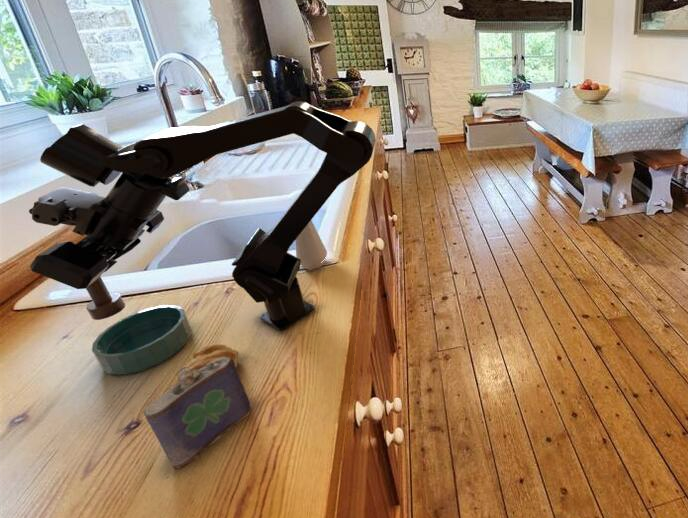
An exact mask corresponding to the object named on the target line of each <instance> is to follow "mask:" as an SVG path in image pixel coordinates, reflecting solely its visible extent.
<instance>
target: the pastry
mask: <svg viewBox="0 0 688 518" xmlns="http://www.w3.org/2000/svg"><path fill="white" fill-rule="evenodd" d="M220 357H229V358H231V359H233V360H234V363H235V366H236V368H237V366H238V359H239V351H237V350H236V349H234V348H232V347H230V346H227V345H225V344H223V343H217V344H215V343H214V344H211V345H207V346H204V347H202V348H201V349H200V350H198V351H195V352H194V353H193V354H192V356H191V357H190V358H188V363H187V364H186V366H187V368H189V369H188V370H189V371H191V370H199V369H200V368H202V367H204V366H206V365H207V364H209V363H210V362H212V361H215V360H217V359H219V358H220ZM187 368H184V369H183V371H184V370H185V369H187Z"/></svg>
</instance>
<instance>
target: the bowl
mask: <svg viewBox="0 0 688 518" xmlns="http://www.w3.org/2000/svg"><path fill="white" fill-rule="evenodd" d="M192 332H193V329H192V324H191V322H190V319H189V318H188V315H187V313H186V310H185V309H183V308H182V307H181V306H179V305H173V304H166V305H165V304H163V305H158V306H154V307H149V308H145V309H143V310H140V311H137V312H134V313H131V314H129V315H127V316H125V317H124V318H121V319H119V320H118V321H117V322H115V323H113V324H112V325H110V326H109V327H107V328H106V329H105V330H104V331H102V332H101V333H100V334H98V336H96V339H95V340H94V341H93V343H92V345H91V352H92V354H93V356H94V357H95V359H96V361H97V362H98V364H99V366H100V368H101V369H102V370H103V371H104V373H107V374H112V375H129V374H134V373H138V372H142V371H145V370H148V369H150V368H154V367H155V366H157V365H159V364H161V363H163V362H165V361H167V360H168V359H169V358H171V357H172V356H174V355H176V353H178V352H179V351H180V350H181V349H182V348H183V347H184V346H185V344H187V341H189V339H190V338H191V335H192Z"/></svg>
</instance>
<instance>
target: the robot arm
mask: <svg viewBox="0 0 688 518" xmlns="http://www.w3.org/2000/svg"><path fill="white" fill-rule="evenodd" d="M289 135H296V136H298V137H300V138H302V139H303V140H305V141H306V142H307V143H309V144H310V145H312V146H313V147H315V148H316V149H318V150H319V151H321V152H323V153H326V154H325V157H324V159H323V161H322V162H321V165H320V167H319V168H318V169H317V171H316V172H315V174H314V175H313V176H312V177H311V179H310V180H309V181H308V183H307V184H306V185H305V186H304V188H303V189H302V191H301V192H300V193H299V194H298V196H297V197H296V198H295V199H294V200H293V202H292V203H291V205H290V206H289V207H288V208H287V210H286V211H285V213H283V215H282V216H281V217H280V218H279V219H278V221H277V222H276V224H275V225H274V226H273V227H272V228H271V229H269V230H268V231H265V230H263V229H262V228H260V227H258V228H257V229H256V231H255V232H254V234H253V235H252V237H251V238H250V239H249V241H248V242H246V243H245V244H244V246H243V247H242V249H241V251H239V253H238V254H237V256H236V257H235V258H234V260H233V262H232V263H231V266H233V267H234V268H233V269H232V273H231V277H232V278H233V280H234V282H235V283H236V284H237V286H239V287H241V288H242V289H243V290H244V291H245V292H246V293H247V294H248V295H249V296H250V298H252V299H253V301H254V302H255V303H257V304H258V303H263V304H264V307H265V312H263V313H262V314H260V316H259V317H260V320H262V321H263V322H265V323H267V324H269V325H270V326H271V327H273V328H274V329H276V330H278V331H280V332H281V331H284V330H286V329H287V328H289V327H291V326H292V325H293V324H295V323H296V322H298V321H299V320H302V318H304V317H306V316H307V315H309V314H310V313H312V312H314V311H315V309H316V307H315V306H314V305H313V304H311V303H309V302H307V301H306V300H305V299H304V297H303V293H302V290H301V285H300V282H299V279H298V277H297V274H298V272H299V271H300V268H301V265H300V263H301V260H300V259H299V258H297V257H296V255H293V254H291V253H290V252H289V249H290V247H291V246H292V245H293V243H295V242H296V238H297V237H298V236H299V235H300V233H301V232H302V231H303V230H304V228H305V227H306V226H307V225H308V223H309V222H310V221H311V220H313V218H314V217H315V216H316V215H317V214H318V212H319V211H320V210H321V208H322V207H323V206H324V204H326V202H327V201H328V199H329V198H331V196H332V195H333V194H334V192H335V191H336V189H337V188H338V187H339V186H340V185H341V184H343V183H344V182H345V181H347V180H348V179H350V178H351V177H353V176H354V175H356V173H358V172H359V171H360V170H361V169H363V167H364V166H366V165H367V164H368V163H369V162H370V160H371V158H372V157H373V153H374V149H375V146H376V133H375V132H374V130H373V128H372V127H371V126H370V125H369V124H366V123H365V122H363V121H358V120H354V121H353V120H352V121H350V120H348V119H347V118H345V117H343V116H341V115H338V114H336V113H332V112H328V111H326V110H323V109H320V108H317V107H315V106H314V105H312V104H309V103H308V102H306V101H301V100H300V101H299V100H298V101H293V102H291V103H290V104H288V105H285V106H282V107H278V108H274V109H269V110H267V111H263V112H258V113H255V114H251V115H248V116H244V117H241V118H240V117H239V118H236V119H232V120H229V121H225V122H222V123H218V124H213V125H203V126H202V125H201V126H200V125H188V126H178V127H169V128H165V129H163V130H160V131H158V132H156V133H154V134H152V135H150V136H148V137H145V138H143V139H140V140H139V141H135V142H133V143H131V144H128V145H126V146H124V147H123V146H122V145H119V144H118V143H116V142H115V141H113V140H110V139H108V138H107V137H105V136H103V135H102V134H99V133H98V132H96V130H95V129H92V127H89V126H87V125H86V124H84V123H81V124H77V125H75V126H71V127H70V128H69V129H68V130H67V132H66V133H64V134H63V135H61V136H60V137H59V138H58V139H57V140H55V141H54V142H53V143H52V144H51V145H50V146H48V147H45V149H44V150H43V152H42V153H41V156H40V158H39V161H40V163H41V164H43V165H46V166H47V167H49V168H51V169H53V170H55V171H58V172H59V173H61V174H64V175H66V176H68V177H70V178H72V179H73V180H76V181H78V182H80V183H82V184H84V185H86V186H89V187H92V188H94V187H96V186H97V185H98V184H100V183H101V184H102V185H105V186H106V185H109V184H110V183H113V181H114V180H116V179H117V178H118V179H117V180H116V182H115V183H114V185H113V186H112V187H111V189H110V191H109V192H108V193H107V194H106V196H103V195H102V196H101V195H100V194H97V193H95V192H89V191H84V190H81V189H75V188H70V187H59V188H56V189H53V190H51V191H50V192H47V193H45V194H43V195H41V196H39V197H38V200H37V201H35V202H33V207H31V208H30V209H28V213H29V214H30V215H31V220H32V221H34V222H35V223H37V224H40V225H41V224H42V225H47V226H53V227H56V226H59V225H64V226H65V225H66V226H70V227H71V226H72V227H74V228H73V229H72V231H71V232H72V233H74V234H77V235H79V236H82V237H83V236H85V237H83V239H81V240H79V241H78V242H73V241H72V240H70V241H67V240H66V241H60V242H56V243H54V244H52V245H51V246H50V247H48V248H47V249H45V250H43V251H42V252H40V253H39V254H38V255H36V256H35V258H34V259H33V260H32V262H31V264H30V265H29V269H30V271H31V272H33V273H35V274H38V275H39V276H40V275H41V276H42V277H46V278H48V279H51V280H52V281H56V282H58V283H61V284H63V285H66V286H69V287H71V288H74V289H76V290H86V288H87V287H88V286H89V285H90V284H92V283H93V282H94V281H95V280H96V279H98V278H99V277H101V276H102V275H103V274H104V273H106V272H107V271H108V270H110V269H111V268H112V267H114V266H115V265H116V264H117V263H118V261H117V259H120V258H121V257H123V256H124V255H126V254H127V253H129V252H130V251H132V250H133V249H135V248H136V247H137V246H138V245H139V244H140V243H141V242H142V241H141V239H140V237H141V236H142V235H143V234H144V233H145V232H146V233H147V234H150V235H151V234H152V233H153V232H155V231H156V230H157V229H158V228H159V227H160V226H161V224H162V223H163V221H164V220H165V217H164V215H163V212H162V211H160V210H158V209H159V207H160V205H161V204H162V203H163V202H164V200H165V198H166V197H167V198H170V199H171V200H174V201H179V200H180V199H182V198H183V197H184V196H186V194H188V193H189V192H190V191H191V188H190V186H189V185H188V183H187V182H186V180H185V177H184V176H179V177H177V175H178V174H180V173H182V172H184V171H187V170H189V169H190V168H193V167H195V166H197V165H198V164H200V163H203V162H205V161H206V160H208V159H210V158H212V157H214V156H217V155H221V154H224V153H229V152H231V151H235V150H239V149H242V148H247V147H250V146H253V145H257V144H261V143H264V142H267V141H271V140H275V139H279V138H282V137H286V136H289ZM145 227H148V228H147V229H144V228H145Z"/></svg>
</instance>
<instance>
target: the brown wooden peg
mask: <svg viewBox="0 0 688 518" xmlns="http://www.w3.org/2000/svg"><path fill="white" fill-rule="evenodd" d="M85 290H86V291H87V293H88V295H89V297H90V298H91V301H90V302H89V303H88V304H87V305H86V307H85V308H86V311H87V312H88V314H89V316H90V317H91V319H92V320H94V321H100V320H104V319H108V318H111V317H113V316H115V315H117V314H119V313H120V312H122V311H123V310H124V309H125V307H126V303H125V301H124V299H123V298H122V295H121V293H117V292H112V293H111V292H110V291H109V290H108V288H107V286H106V284H105V282H104V281H103V278H102V277H101V276H100V277H99V278H98V279H96V280H95V281H94V282H93V283H92V284H90V285H89V286H88V287H87V288H86V289H85Z"/></svg>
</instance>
